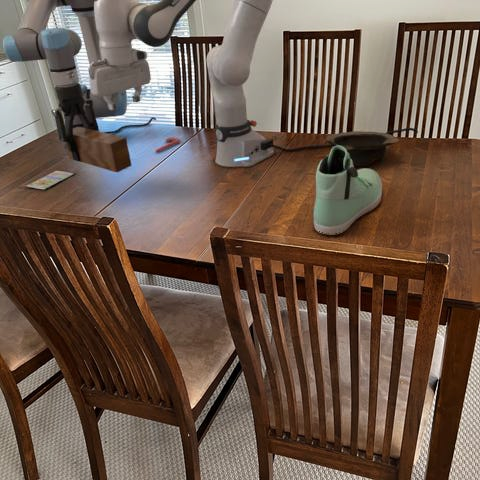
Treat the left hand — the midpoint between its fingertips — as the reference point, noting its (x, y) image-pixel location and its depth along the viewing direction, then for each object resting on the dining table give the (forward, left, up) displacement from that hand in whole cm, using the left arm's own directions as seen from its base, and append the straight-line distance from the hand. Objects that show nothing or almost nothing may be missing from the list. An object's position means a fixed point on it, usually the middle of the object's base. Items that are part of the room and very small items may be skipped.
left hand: (85, 156), depth 156 cm
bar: (-2, +7, 0) cm, 7 cm away
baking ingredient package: (+8, -20, -12) cm, 25 cm away
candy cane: (-39, -18, -12) cm, 45 cm away
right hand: (-11, +14, +17) cm, 25 cm away
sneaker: (-49, +69, -12) cm, 86 cm away
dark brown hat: (-81, +46, -12) cm, 94 cm away
